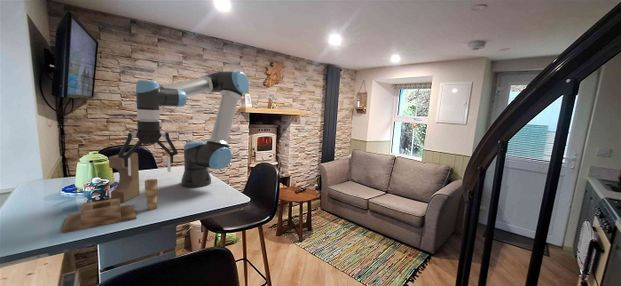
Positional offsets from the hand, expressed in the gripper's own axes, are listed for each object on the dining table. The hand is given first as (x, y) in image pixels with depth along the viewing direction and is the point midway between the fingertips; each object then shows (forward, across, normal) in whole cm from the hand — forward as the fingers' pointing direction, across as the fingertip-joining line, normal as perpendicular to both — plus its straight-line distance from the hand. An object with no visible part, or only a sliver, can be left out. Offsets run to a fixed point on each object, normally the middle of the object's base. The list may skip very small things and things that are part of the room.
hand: (150, 173), depth 104 cm
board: (+15, +16, +1) cm, 22 cm away
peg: (+15, 0, 0) cm, 15 cm away
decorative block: (+15, +8, -19) cm, 26 cm away
